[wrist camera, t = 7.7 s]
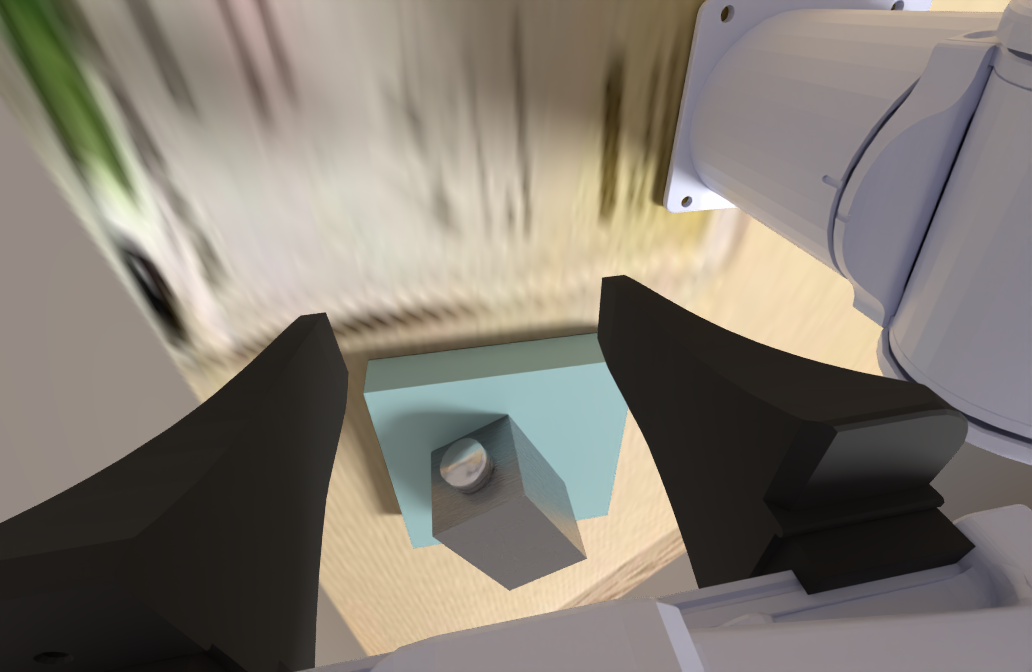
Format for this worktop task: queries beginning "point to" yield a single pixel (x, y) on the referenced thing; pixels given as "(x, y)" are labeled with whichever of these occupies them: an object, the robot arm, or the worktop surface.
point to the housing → (503, 506)
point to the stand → (499, 415)
